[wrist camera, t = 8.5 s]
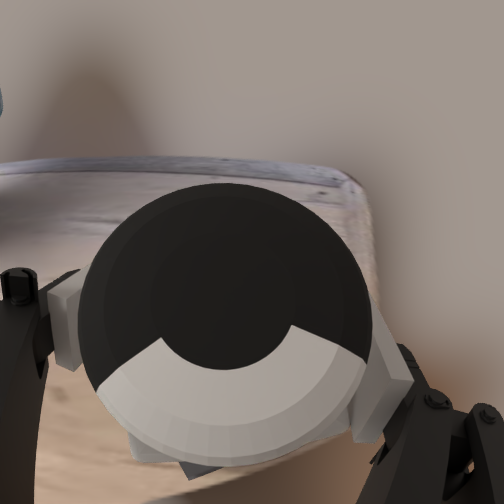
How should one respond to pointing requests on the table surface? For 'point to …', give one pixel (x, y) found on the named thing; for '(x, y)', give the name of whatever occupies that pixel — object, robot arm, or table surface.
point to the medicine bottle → (224, 327)
